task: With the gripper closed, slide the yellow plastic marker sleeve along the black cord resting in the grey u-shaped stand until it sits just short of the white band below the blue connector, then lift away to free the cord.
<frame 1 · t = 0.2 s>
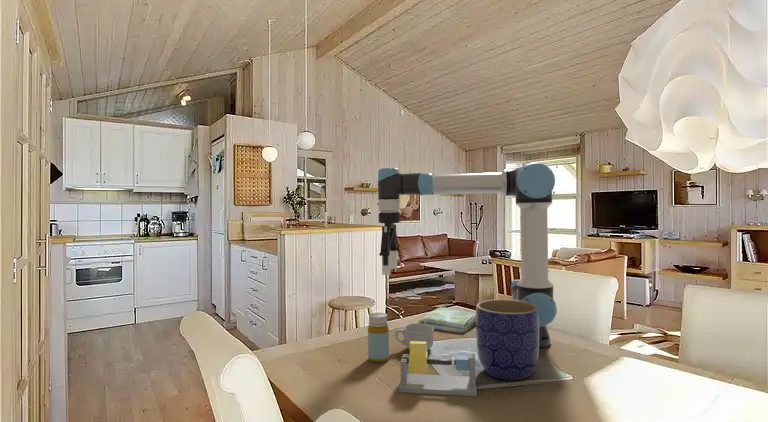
hand: (390, 271, 155), 28 cm above the table, fingers open, 13 cm apart
planter: (507, 373, 132), on the table
grey u-shaped stand: (438, 386, 124), on the table
teacup: (414, 350, 155), on the table
sleeve: (418, 355, 124), point 9 cm above the table, slide at 0.0 cm
towel: (449, 325, 185), on the table
bottle: (378, 360, 146), on the table
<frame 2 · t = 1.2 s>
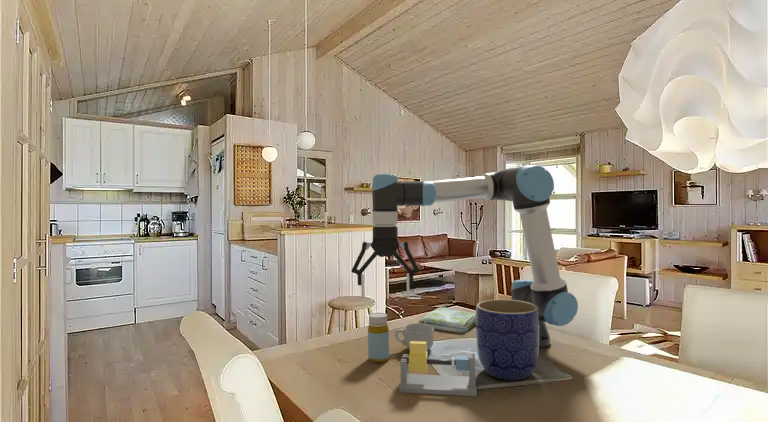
hand: (385, 296, 131), 24 cm above the table, fingers open, 13 cm apart
nothing on the table moved.
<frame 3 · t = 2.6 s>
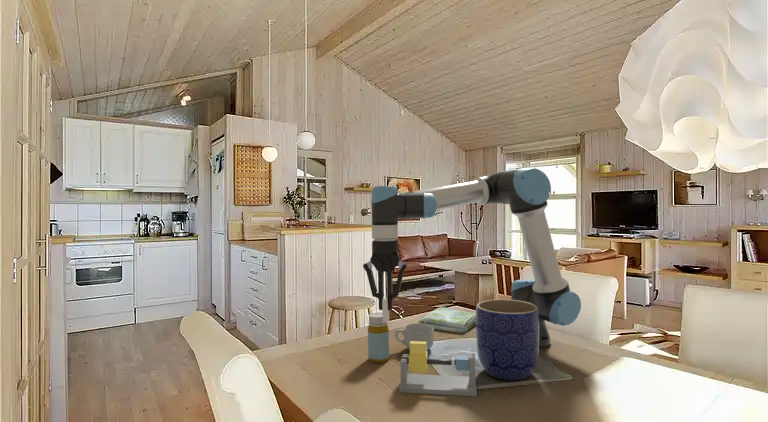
hand: (385, 321, 126), 18 cm above the table, fingers closed
nothing on the table moved.
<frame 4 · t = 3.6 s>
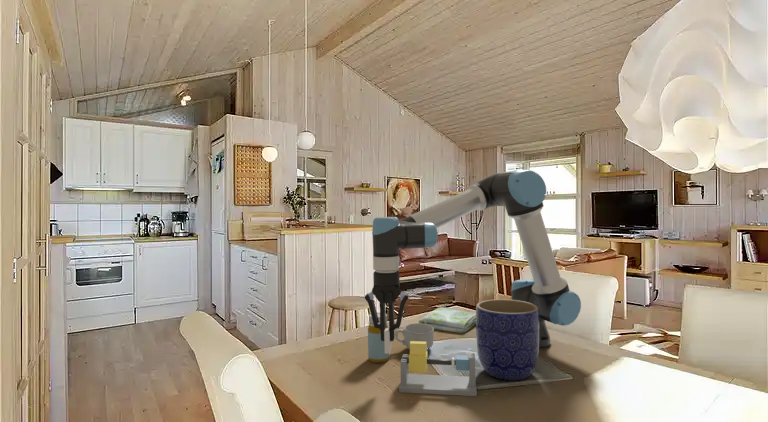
hand: (387, 351, 126), 9 cm above the table, fingers closed
nothing on the table moved.
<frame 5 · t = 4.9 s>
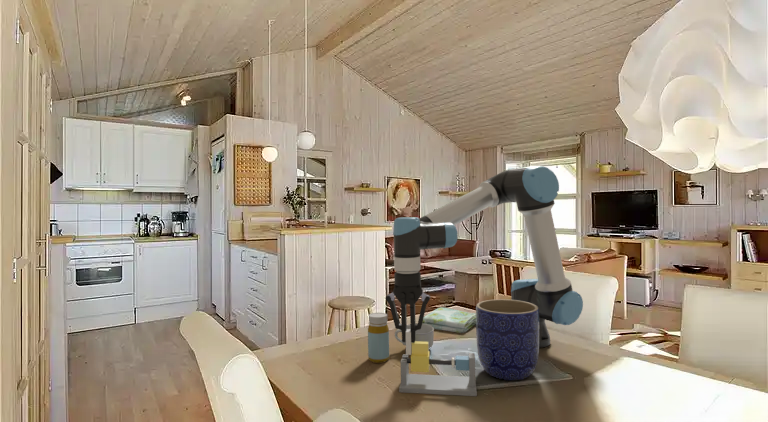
hand: (409, 353, 125), 9 cm above the table, fingers closed
sleeve: (420, 355, 124), point 9 cm above the table, slide at 0.6 cm, touching gripper
everything else where it was.
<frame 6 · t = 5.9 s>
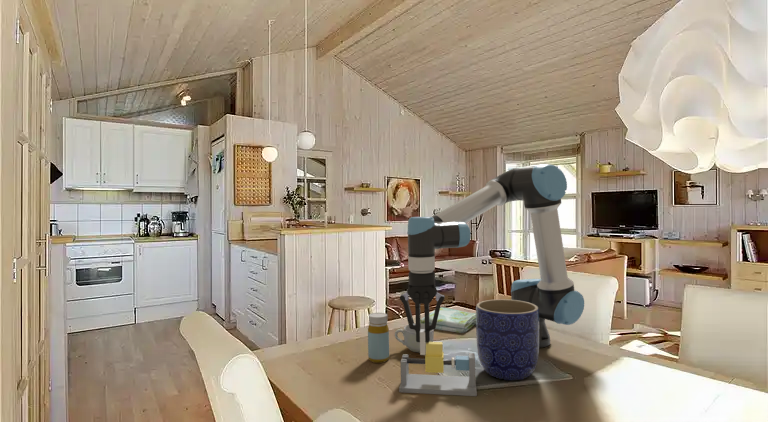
hand: (423, 353, 124), 9 cm above the table, fingers closed
sleeve: (434, 356, 124), point 9 cm above the table, slide at 4.6 cm, touching gripper
everything else where it was.
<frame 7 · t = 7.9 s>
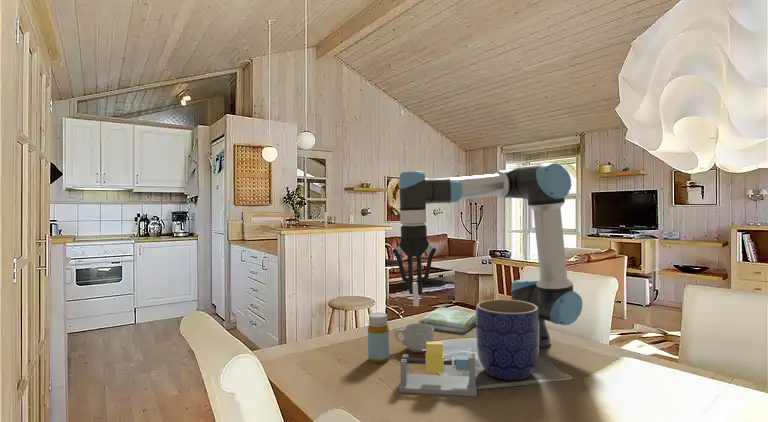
hand: (416, 305, 127), 22 cm above the table, fingers closed
sleeve: (434, 356, 124), point 9 cm above the table, slide at 4.7 cm
everything else where it was.
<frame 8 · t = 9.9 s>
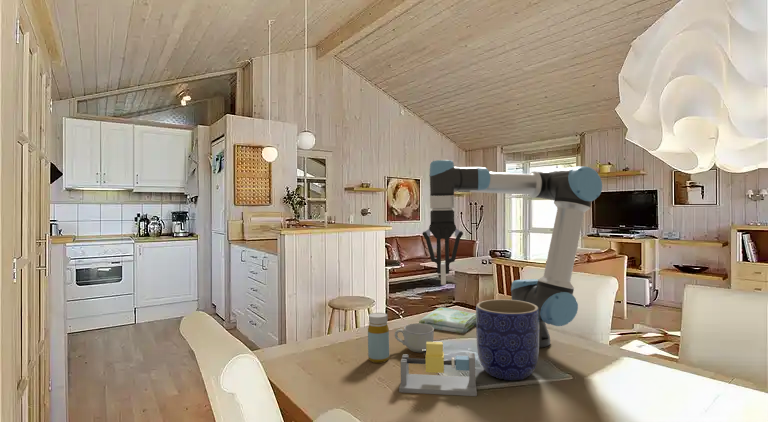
hand: (443, 284, 138), 26 cm above the table, fingers closed
nothing on the table moved.
at the end: sleeve slide at 4.7 cm; sleeve touching nothing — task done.
